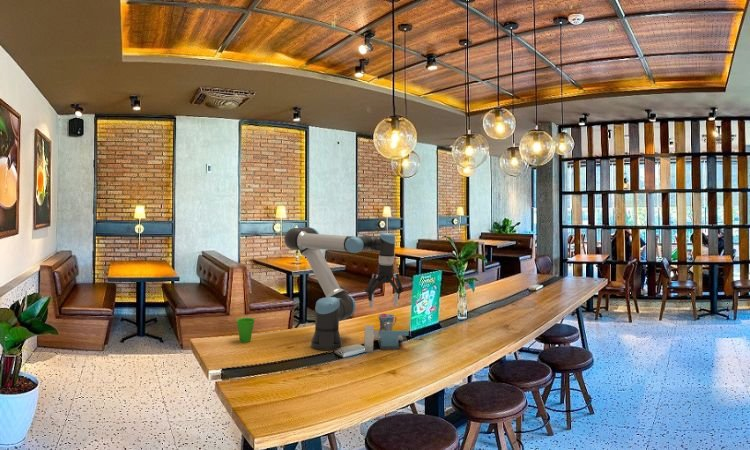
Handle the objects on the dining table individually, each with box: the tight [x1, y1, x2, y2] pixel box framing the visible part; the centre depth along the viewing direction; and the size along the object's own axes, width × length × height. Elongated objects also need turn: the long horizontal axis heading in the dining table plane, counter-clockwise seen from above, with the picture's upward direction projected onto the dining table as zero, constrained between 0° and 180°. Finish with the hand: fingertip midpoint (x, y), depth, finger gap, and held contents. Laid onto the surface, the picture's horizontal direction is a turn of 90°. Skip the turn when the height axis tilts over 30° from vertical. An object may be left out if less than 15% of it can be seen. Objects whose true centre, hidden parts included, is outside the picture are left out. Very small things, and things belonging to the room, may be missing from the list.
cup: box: [236, 317, 256, 344], centre depth 238 cm, size 9×9×11 cm
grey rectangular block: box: [363, 324, 375, 353], centre depth 229 cm, size 4×4×12 cm
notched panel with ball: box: [373, 322, 410, 351], centre depth 240 cm, size 16×16×11 cm
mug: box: [377, 313, 397, 330], centre depth 259 cm, size 12×9×11 cm
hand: (383, 306), depth 235 cm, fingers open, 13 cm apart
